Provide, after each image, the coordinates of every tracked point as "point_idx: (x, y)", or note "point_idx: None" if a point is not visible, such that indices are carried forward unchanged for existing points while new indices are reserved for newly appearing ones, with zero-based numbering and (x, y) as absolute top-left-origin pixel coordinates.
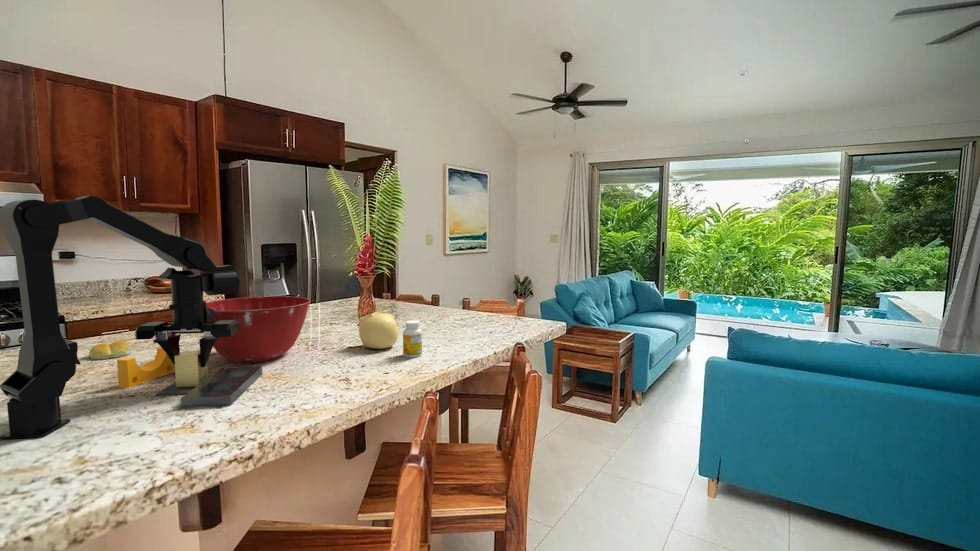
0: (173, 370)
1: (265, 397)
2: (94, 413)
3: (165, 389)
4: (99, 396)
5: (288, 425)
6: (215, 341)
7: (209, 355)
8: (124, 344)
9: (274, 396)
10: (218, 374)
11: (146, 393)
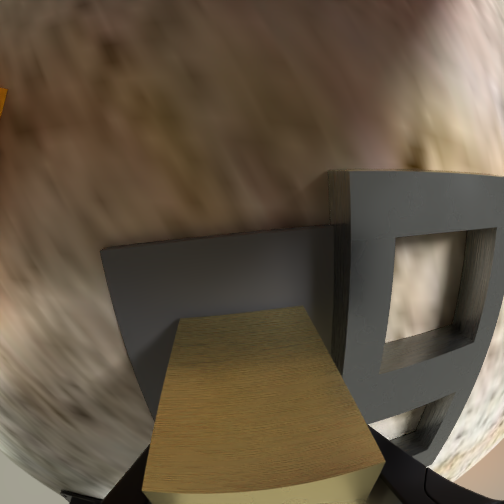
0: (1, 93)
1: (484, 394)
2: None
3: (157, 399)
4: (3, 389)
5: (479, 456)
6: (499, 501)
7: (400, 451)
8: None
9: (497, 384)
10: (377, 321)
11: (103, 401)
